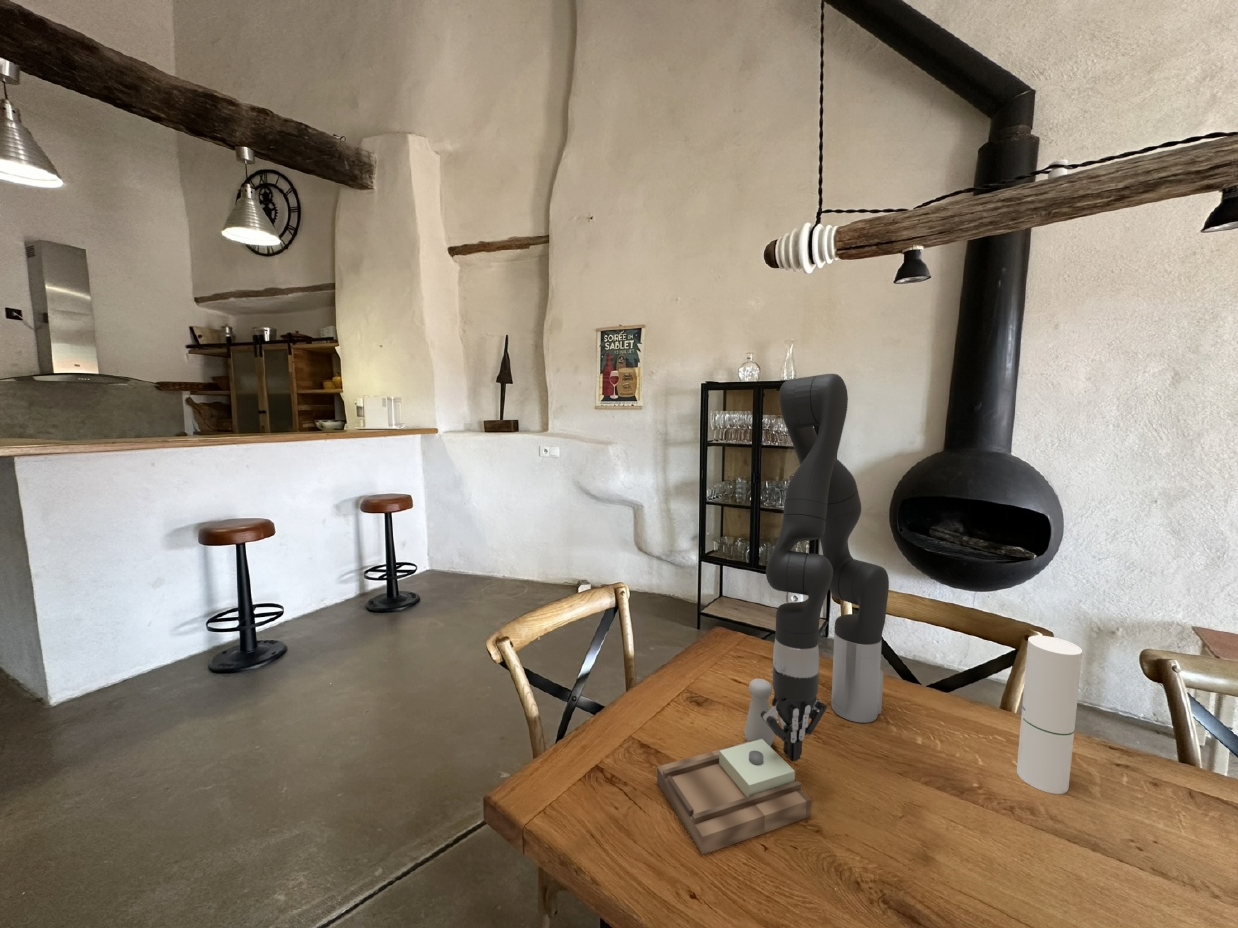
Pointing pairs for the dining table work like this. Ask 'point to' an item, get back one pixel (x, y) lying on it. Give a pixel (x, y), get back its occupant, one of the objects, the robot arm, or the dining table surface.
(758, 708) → the salt shaker
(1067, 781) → the cylindrical container
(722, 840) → the board
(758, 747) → the cover
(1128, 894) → the dining table surface
